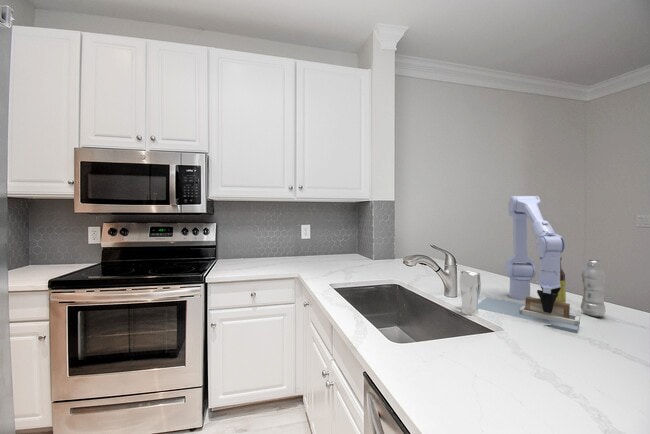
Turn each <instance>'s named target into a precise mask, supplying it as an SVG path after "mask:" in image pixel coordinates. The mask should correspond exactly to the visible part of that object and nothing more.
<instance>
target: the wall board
mask: <svg viewBox="0 0 650 434" xmlns="http://www.w3.org/2000/svg"><path fill="white" fill-rule="evenodd" d="M479 309H480V310H484V311H488V312H492V313H496V314H501V315H502V314H503V315H506V316H511V317H516V318H521V319H524V320H530V321H535V322H538V323H544V324H545V325H542V326H543V327H548V328H552V329H557V330H562V331H567V332H571V333H575V334H578V333H579V328H580V319H581V316H582V315H581V314H580V313H579V314H578V313H573V312H570V316H569V319H567V318H562V317H557V316H552V315H547V314H542V313H537V312H532V311H528V310H525V303H519V302H517V301H516V302H515V301H510V300H505V299H501V298H500V299H499V298H496V297H495V298H494V297H489V296H486V297H484V299H482V300H480V302H478V310H479Z"/></svg>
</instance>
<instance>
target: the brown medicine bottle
mask: <svg viewBox="0 0 650 434" xmlns="http://www.w3.org/2000/svg"><path fill="white" fill-rule="evenodd" d="M566 282H567V281H566V274H565V272H564V270H563V269H562V256H561V257H560V285H561V287H560V288H561V289H560V291H559V292H558V296H557V298H556V301H557V302H562V303H567V295H566V294H567V293H566V291H567V290H566V288H567V287H566V285H567V284H566Z"/></svg>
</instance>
